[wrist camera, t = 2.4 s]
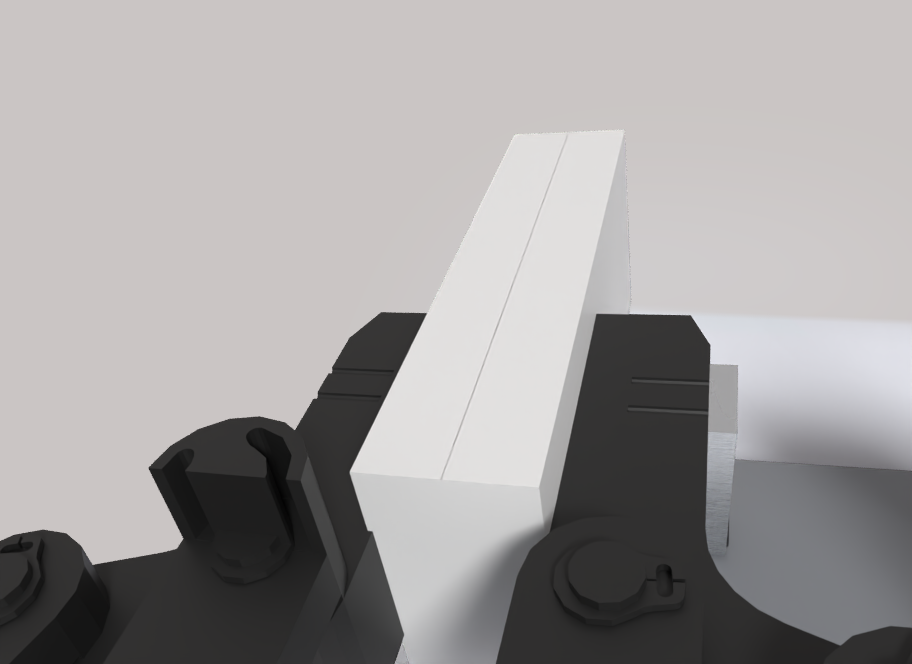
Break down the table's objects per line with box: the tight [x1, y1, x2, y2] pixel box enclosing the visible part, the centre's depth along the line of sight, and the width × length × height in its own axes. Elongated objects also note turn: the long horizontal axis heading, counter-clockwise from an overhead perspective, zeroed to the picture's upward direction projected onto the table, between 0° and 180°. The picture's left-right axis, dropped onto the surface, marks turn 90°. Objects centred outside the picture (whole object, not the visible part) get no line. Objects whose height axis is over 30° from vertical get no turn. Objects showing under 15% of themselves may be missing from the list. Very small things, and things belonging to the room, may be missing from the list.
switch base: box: [710, 460, 912, 646], centre depth 29 cm, size 8×22×3 cm, turn 75°
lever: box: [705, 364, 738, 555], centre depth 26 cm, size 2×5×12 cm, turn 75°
